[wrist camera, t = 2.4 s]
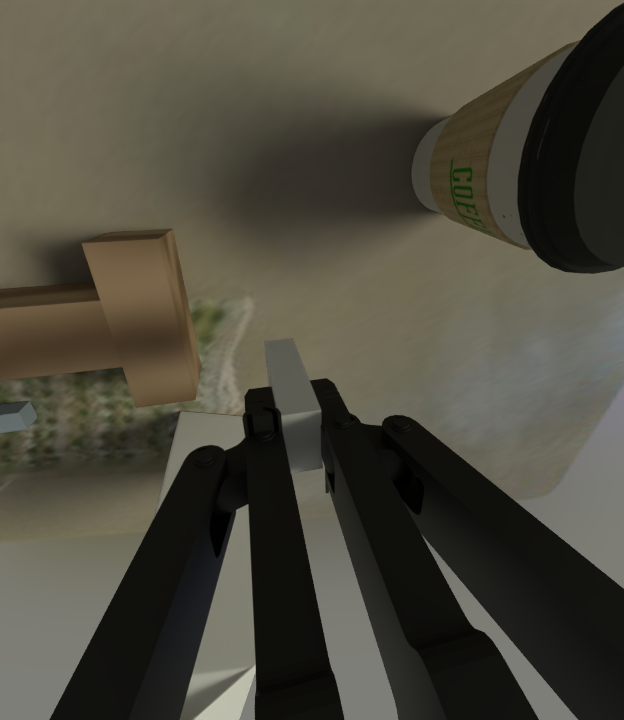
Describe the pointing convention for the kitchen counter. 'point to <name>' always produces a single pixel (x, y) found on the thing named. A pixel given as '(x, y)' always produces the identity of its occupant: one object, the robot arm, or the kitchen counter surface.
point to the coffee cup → (540, 156)
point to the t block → (109, 320)
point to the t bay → (16, 416)
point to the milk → (219, 588)
